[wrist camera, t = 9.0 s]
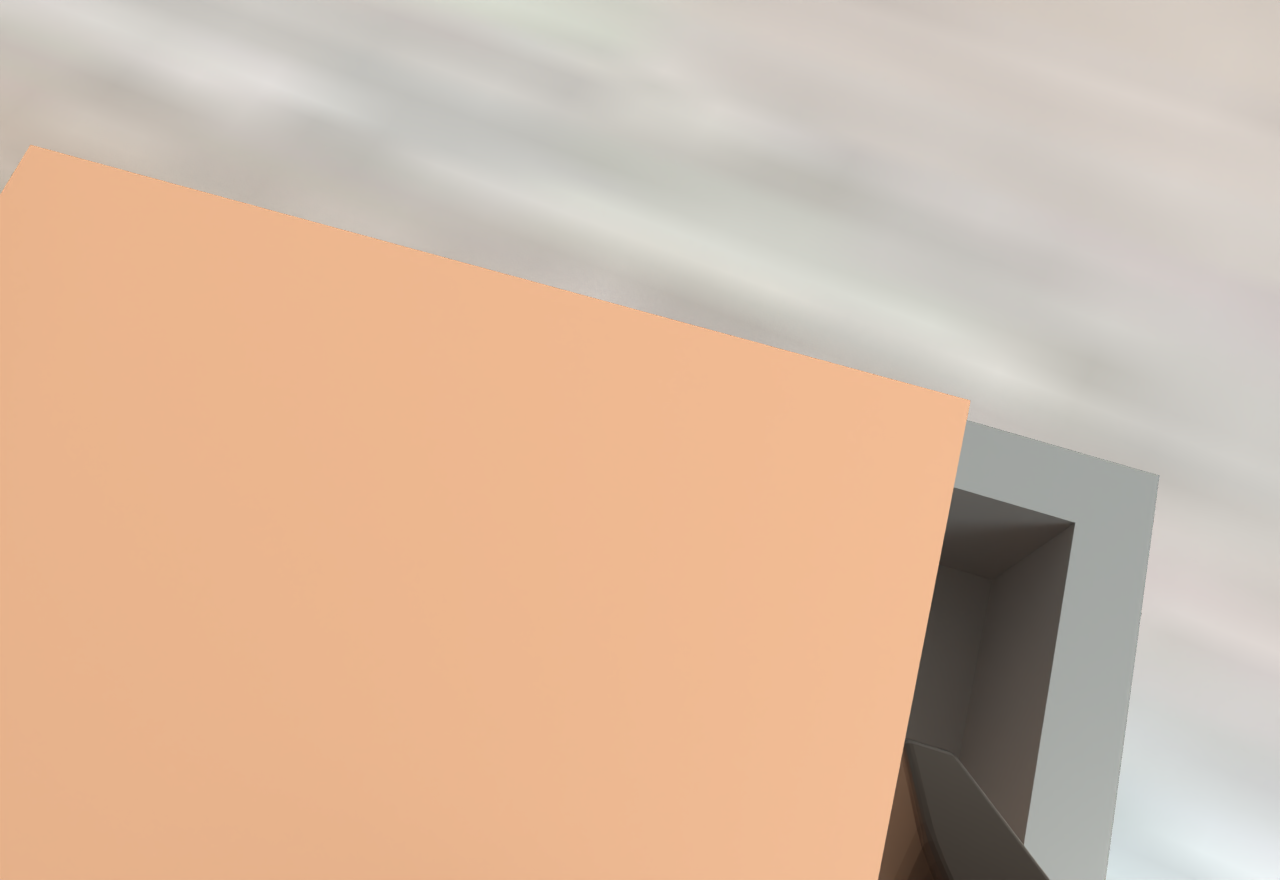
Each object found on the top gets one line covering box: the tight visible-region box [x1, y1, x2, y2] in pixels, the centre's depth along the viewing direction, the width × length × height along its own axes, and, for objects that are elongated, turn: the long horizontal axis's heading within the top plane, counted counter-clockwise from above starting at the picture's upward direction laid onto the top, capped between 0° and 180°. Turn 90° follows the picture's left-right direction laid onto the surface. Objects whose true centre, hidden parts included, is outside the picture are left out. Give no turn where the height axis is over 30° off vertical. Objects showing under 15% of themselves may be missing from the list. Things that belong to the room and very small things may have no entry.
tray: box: [905, 420, 1159, 880], centre depth 15 cm, size 14×14×4 cm
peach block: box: [0, 145, 970, 880], centre depth 10 cm, size 5×5×12 cm
